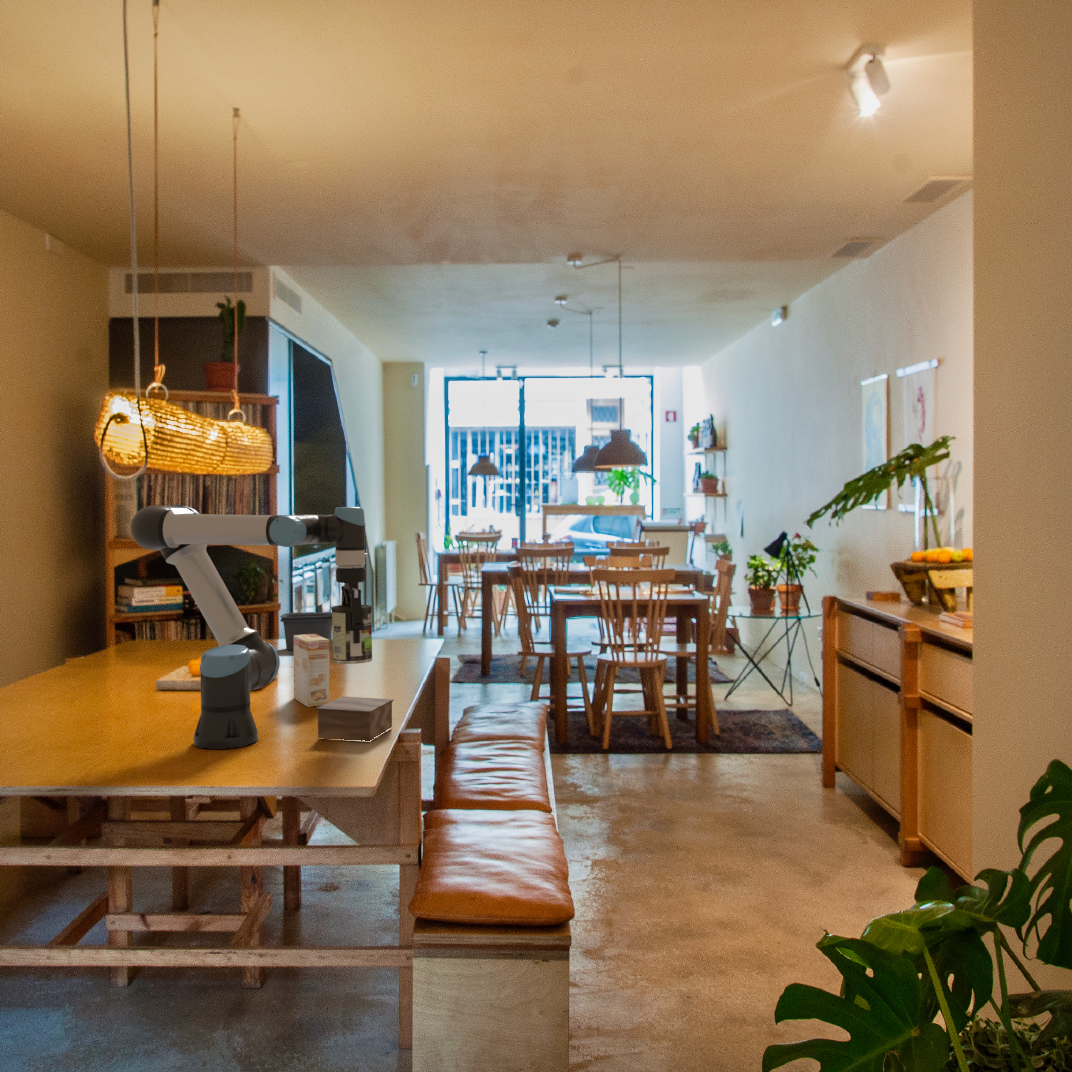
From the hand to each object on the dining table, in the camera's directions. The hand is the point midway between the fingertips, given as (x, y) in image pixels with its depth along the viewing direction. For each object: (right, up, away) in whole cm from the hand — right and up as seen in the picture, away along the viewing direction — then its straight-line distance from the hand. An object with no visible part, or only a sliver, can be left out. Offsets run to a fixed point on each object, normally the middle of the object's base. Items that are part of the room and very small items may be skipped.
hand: (352, 652), depth 239 cm
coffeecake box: (-20, -20, +39) cm, 48 cm away
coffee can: (0, -2, 0) cm, 2 cm away
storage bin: (-46, -16, +140) cm, 149 cm away
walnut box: (+1, -21, 0) cm, 21 cm away
